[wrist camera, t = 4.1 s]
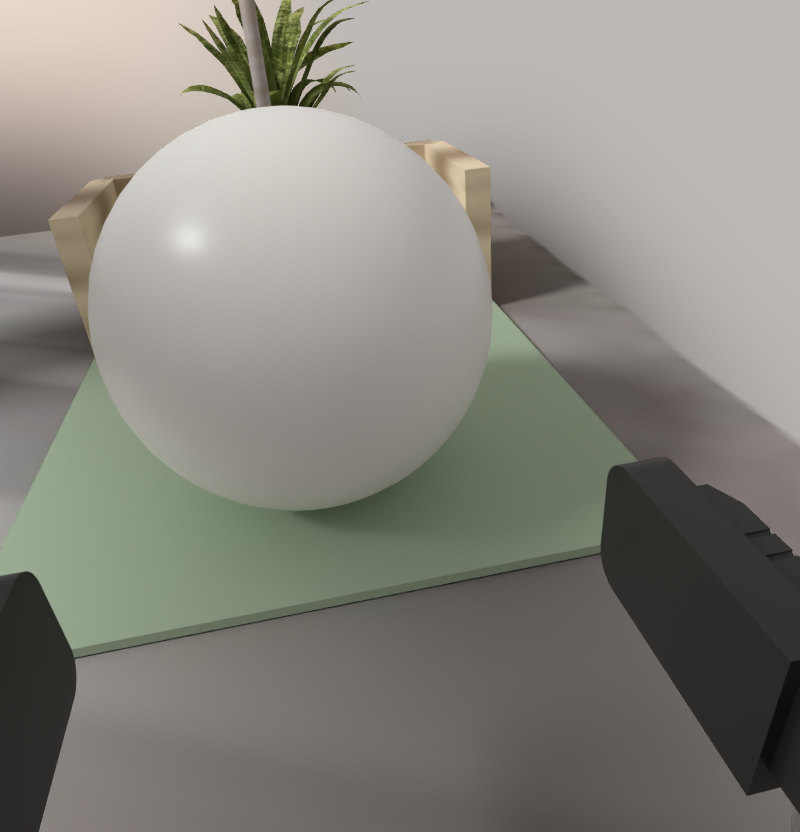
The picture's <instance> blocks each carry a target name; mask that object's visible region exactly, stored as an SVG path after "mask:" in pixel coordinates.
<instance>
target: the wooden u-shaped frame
mask: <svg viewBox="0 0 800 832" xmlns="http://www.w3.org/2000/svg"><path fill="white" fill-rule="evenodd" d="M238 1H239V7H240V12H241V18H242V24H243V30H244V36H245V42H246V48H247V54H248V59H249V65H250V71H251V77H252V83H253V89H254V95H255V100H256V106H257V108H259V107H268V106H271V101H270V95H269V89H268V83H267V76H266V70H265V64H264V58H263V51H262V45H261V39H260V33H259V26H258V20H257V14H256V8H255V1H254V0H238ZM404 144H405V145H407V146H408V147H409V148H410V149H412V150H413V151H414V152H415V153H417V154H418V155H419V156H420V157H422V158H423V159H424V160H425V161H426V162H427V163H428V164H429V165H430V166H431V167H432V168H433V169H434V170H435V171H436V172H437V174H438V175H439V176H440V177H441V178H442V179H443V180H444V181H445V182H446V183H447V185H448V186H449V187H450V189H451V190H452V192H453V193H454V194H455V196H456V197H457V199H458V200H459V201H460V203H461V204H462V206H463V208H464V210H465V212H466V213H467V215H468V217H469V219H470V221H471V223H472V225H473V227H474V229H475V232H476V234H477V237H478V240H479V243H480V245H481V248H482V251H483V254H484V257H485V260H486V264H487V269H488V274H489V278H490V283H491V199H490V167H489V166H488V165H486V164H484V163H482V162H480V161H478V160H477V159H475V158H473V157H471V156H470V155H468V154H466V153H464V152H462V151H461V150H459V149H457V148H455V147H453V146H452V145H450V144H448V143H446V142H444V141H434V142H432V141H430V140H427V141H418V142H409V143H404ZM134 175H135V174H127V175H118V176H109V177H105V178H104V179H99V180H91V181H90V182H89V183H88V184H87V185H86V186H85V187H84V188H83V189H82V190H80V191H79V192H78V193H77V194H76V195H75V196H74V197H73V198H72V199H71V200H70V201H68V202H67V203H66V204H65V205H64V206H63V207H62V208H61V209H60V210H59V211H57V212H56V213H55V214H54V215H53V216H52V217H51V218H50V219H49V220H48V222H49V224H50V227H51V230H52V233H53V236H54V239H55V242H56V245H57V248H58V251H59V254H60V257H61V260H62V262H63V265H64V268H65V271H66V274H67V277H68V280H69V283H70V286H71V289H72V292H73V295H74V297H75V300H76V303H77V306H78V309H79V312H80V315H81V318H82V321H83V324H84V327H85V330H86V332H87V335H88V338H89V341H90V344H91V347H92V343H91V338H90V329H89V319H88V291H89V275H90V270H91V265H92V260H93V255H94V250H95V247H96V245H97V242H98V239H99V236H100V233H101V231H102V228H103V225H104V223H105V221H106V219H107V217H108V215H109V213H110V211H111V210H112V208H113V206H114V204H115V202H116V200H117V199H118V197H119V195H120V193H121V192H122V191H123V189H124V188H125V187H126V185H127V184H128V183H129V182H130V180H131V179H132V178H133V176H134ZM92 350H93V347H92ZM93 353H94V351H93ZM94 356H95V355H94Z"/></svg>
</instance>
